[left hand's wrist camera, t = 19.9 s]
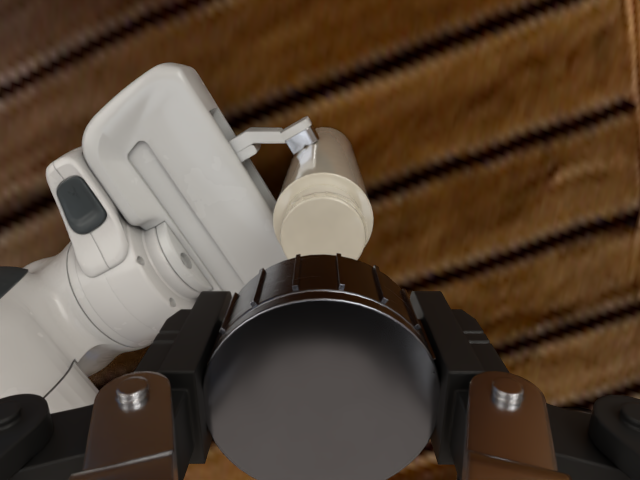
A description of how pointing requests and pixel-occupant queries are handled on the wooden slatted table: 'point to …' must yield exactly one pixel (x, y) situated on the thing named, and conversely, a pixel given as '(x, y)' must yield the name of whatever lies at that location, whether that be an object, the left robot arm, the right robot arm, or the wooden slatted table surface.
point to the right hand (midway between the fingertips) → (336, 168)
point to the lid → (321, 374)
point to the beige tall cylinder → (323, 201)
